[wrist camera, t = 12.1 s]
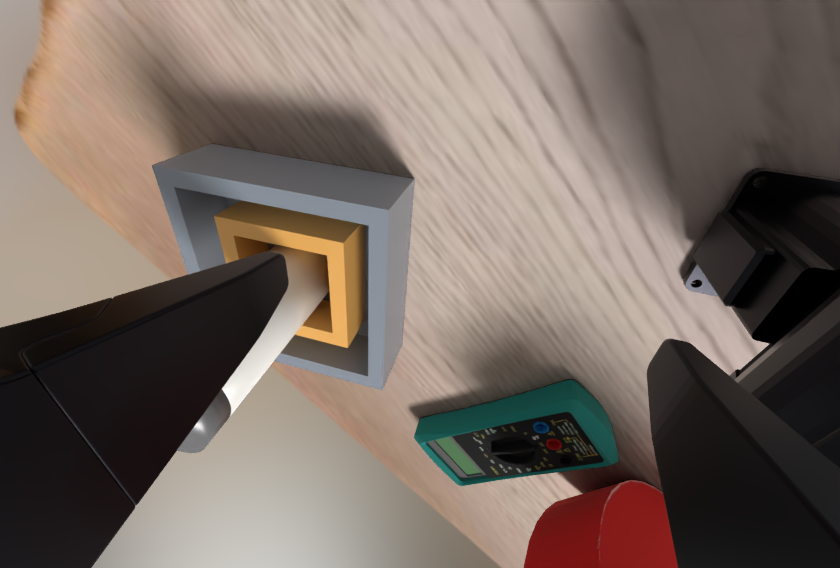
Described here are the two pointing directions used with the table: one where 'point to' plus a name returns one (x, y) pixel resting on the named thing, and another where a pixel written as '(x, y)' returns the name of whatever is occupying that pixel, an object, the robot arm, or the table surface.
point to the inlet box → (304, 244)
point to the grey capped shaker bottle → (267, 340)
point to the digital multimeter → (521, 436)
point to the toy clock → (605, 530)
